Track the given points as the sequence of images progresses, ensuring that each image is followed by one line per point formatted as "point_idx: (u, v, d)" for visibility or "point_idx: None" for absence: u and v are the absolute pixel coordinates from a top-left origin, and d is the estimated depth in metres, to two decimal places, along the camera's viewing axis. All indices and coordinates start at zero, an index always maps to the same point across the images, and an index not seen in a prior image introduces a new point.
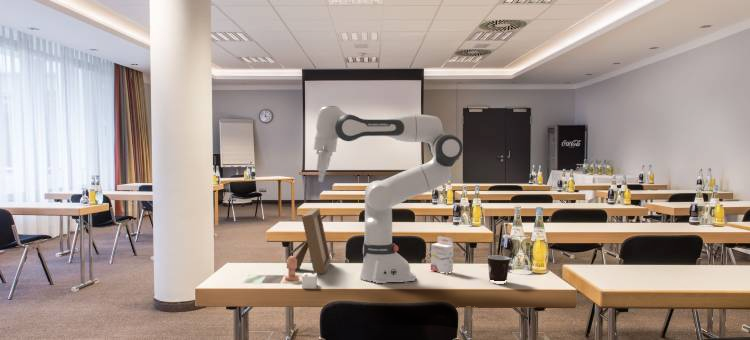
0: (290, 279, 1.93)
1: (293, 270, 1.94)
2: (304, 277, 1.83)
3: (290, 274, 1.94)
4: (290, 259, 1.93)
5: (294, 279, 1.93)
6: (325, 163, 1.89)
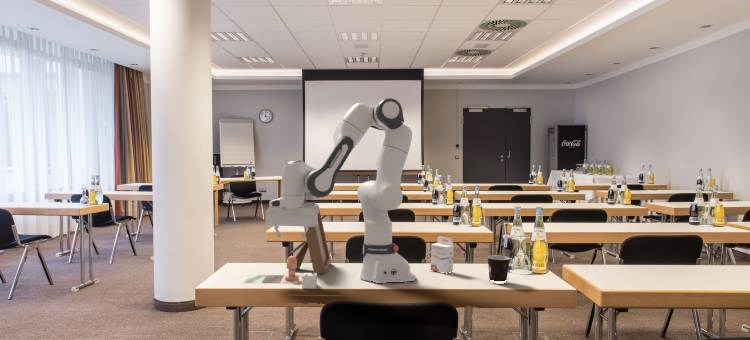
0: (290, 279, 1.93)
1: (293, 270, 1.94)
2: (304, 277, 1.83)
3: (290, 274, 1.94)
4: (290, 259, 1.93)
5: (294, 279, 1.93)
6: None
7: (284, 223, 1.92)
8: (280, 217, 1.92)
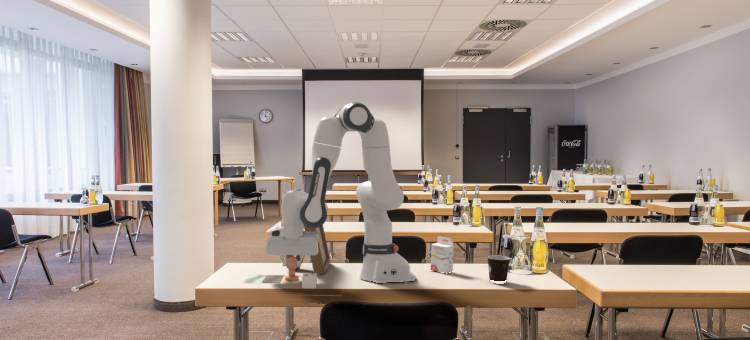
0: (290, 279, 1.93)
1: (293, 270, 1.94)
2: (304, 277, 1.83)
3: (290, 274, 1.94)
4: (290, 259, 1.93)
5: (294, 279, 1.93)
6: None
7: (284, 252, 1.93)
8: (280, 246, 1.93)
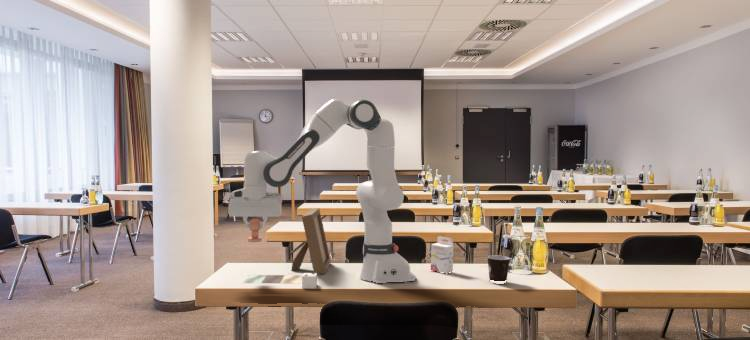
0: (253, 240, 1.91)
1: (256, 232, 1.93)
2: (304, 277, 1.83)
3: (253, 236, 1.93)
4: (253, 220, 1.92)
5: (257, 240, 1.92)
6: (281, 208, 1.95)
7: (247, 214, 1.92)
8: (243, 207, 1.91)
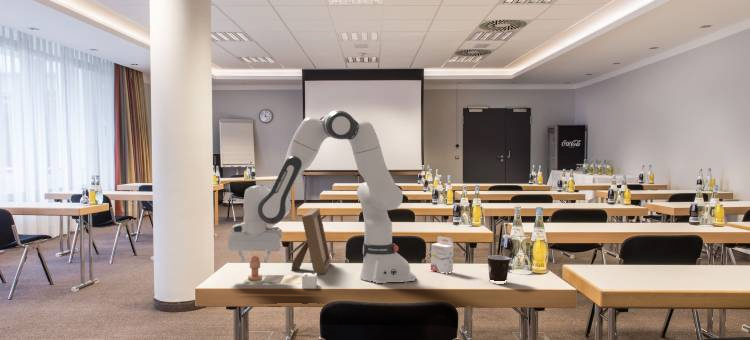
0: (253, 279, 1.92)
1: (256, 270, 1.93)
2: (304, 277, 1.83)
3: (253, 274, 1.93)
4: (253, 259, 1.93)
5: (257, 279, 1.92)
6: None
7: (247, 248, 1.92)
8: (243, 242, 1.92)
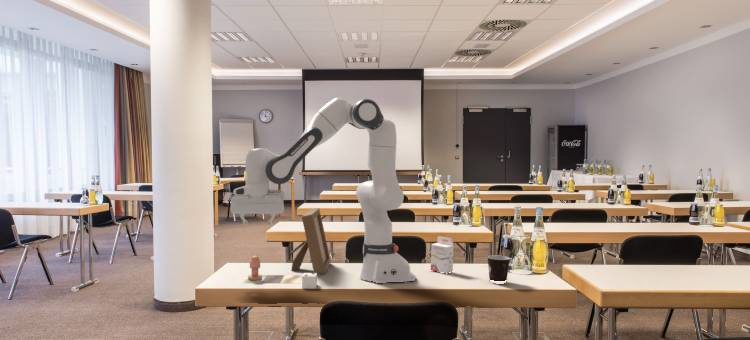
0: (253, 279, 1.92)
1: (256, 270, 1.93)
2: (304, 277, 1.83)
3: (253, 274, 1.93)
4: (253, 259, 1.93)
5: (257, 279, 1.92)
6: (283, 205, 1.95)
7: (249, 211, 1.92)
8: (245, 205, 1.92)
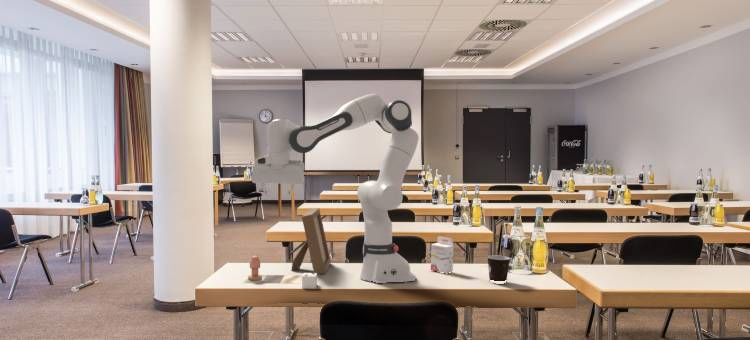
0: (253, 279, 1.92)
1: (256, 270, 1.93)
2: (304, 277, 1.83)
3: (253, 274, 1.93)
4: (253, 259, 1.93)
5: (257, 279, 1.92)
6: (303, 176, 1.98)
7: (270, 180, 1.94)
8: (266, 174, 1.94)
